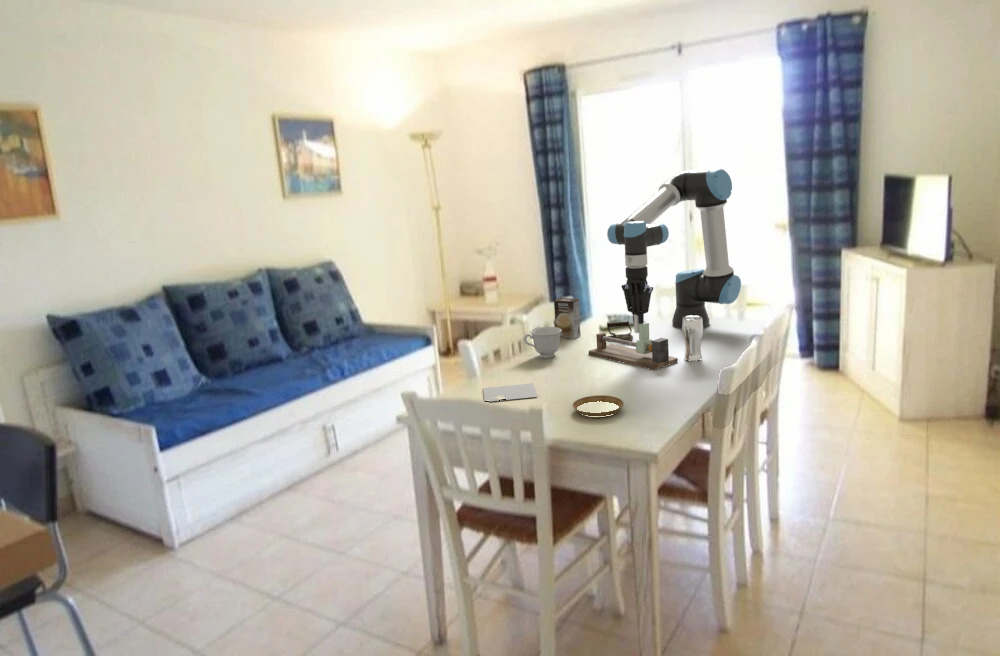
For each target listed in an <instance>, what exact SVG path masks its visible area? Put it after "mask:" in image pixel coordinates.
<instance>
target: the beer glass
mask: <svg viewBox="0 0 1000 656" xmlns="http://www.w3.org/2000/svg"><path fill="white" fill-rule="evenodd" d="M681 330H682V339H683V343H684V352H685V353H684V360H685V361H686V360H690V361H689V362H691V361H696V360H700V359H702V360H703V356H702V355H703V354H702V341H703V337H704V336H703V335H704V327H703V322H702V317H700V316H686V317H683V324H682V328H681ZM700 361H701V360H700ZM696 362H697V361H696Z"/></svg>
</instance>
